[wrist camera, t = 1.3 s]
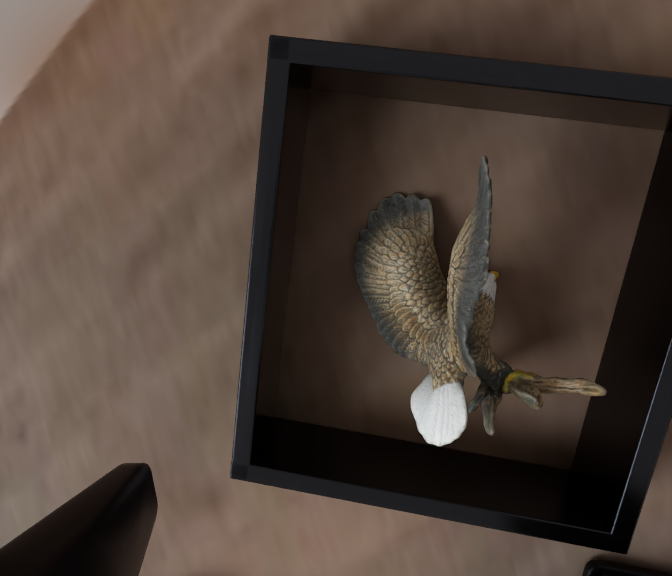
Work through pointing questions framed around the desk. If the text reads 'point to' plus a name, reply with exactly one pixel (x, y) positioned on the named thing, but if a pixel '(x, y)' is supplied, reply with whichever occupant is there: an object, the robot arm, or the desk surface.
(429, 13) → the desk surface
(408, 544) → the desk surface
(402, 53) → the desk tidy
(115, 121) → the desk surface
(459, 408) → the eagle figurine
